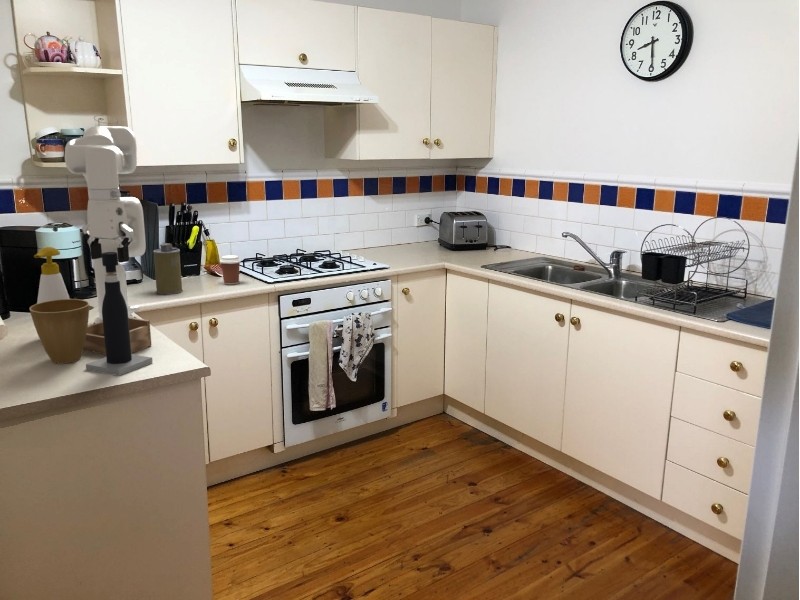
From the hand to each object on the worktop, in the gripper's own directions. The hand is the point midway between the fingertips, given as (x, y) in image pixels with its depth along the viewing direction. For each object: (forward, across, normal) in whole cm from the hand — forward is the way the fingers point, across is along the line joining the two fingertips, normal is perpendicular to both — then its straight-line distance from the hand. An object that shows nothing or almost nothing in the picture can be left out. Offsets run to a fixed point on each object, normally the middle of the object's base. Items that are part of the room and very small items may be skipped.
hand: (110, 260), depth 176 cm
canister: (+31, +54, -78) cm, 100 cm away
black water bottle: (+28, 0, 0) cm, 28 cm away
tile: (+30, 0, 0) cm, 30 cm away
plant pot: (+30, +17, +3) cm, 35 cm away
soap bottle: (+30, +36, -10) cm, 48 cm away
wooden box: (+30, +14, -12) cm, 35 cm away
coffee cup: (+31, +42, -104) cm, 116 cm away
